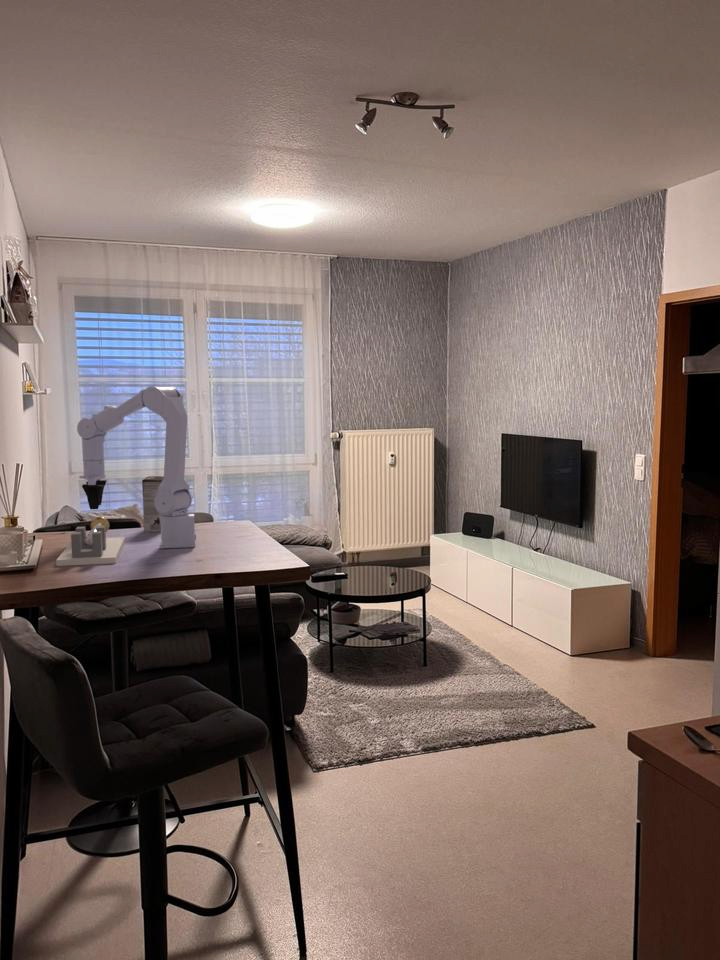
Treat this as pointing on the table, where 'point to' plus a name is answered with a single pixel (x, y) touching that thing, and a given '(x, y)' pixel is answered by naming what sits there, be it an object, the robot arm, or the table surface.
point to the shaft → (96, 522)
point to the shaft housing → (91, 548)
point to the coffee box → (151, 503)
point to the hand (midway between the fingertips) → (95, 507)
